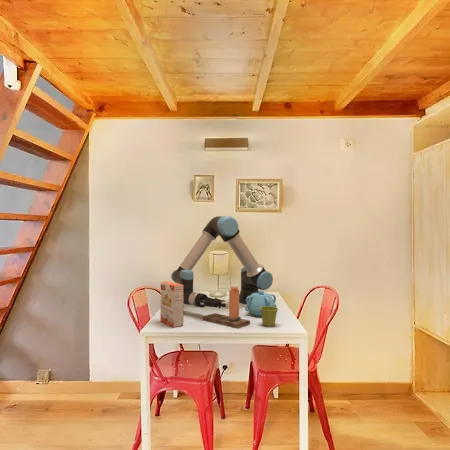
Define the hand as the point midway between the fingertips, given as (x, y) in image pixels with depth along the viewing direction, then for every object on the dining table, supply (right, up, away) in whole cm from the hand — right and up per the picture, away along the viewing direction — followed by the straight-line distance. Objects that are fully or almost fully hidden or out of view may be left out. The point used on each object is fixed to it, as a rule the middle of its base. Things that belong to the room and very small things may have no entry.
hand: (231, 306), depth 195 cm
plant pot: (+19, -9, -2) cm, 21 cm away
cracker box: (-31, -9, -2) cm, 32 cm away
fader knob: (+1, -7, -1) cm, 7 cm away
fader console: (-3, -9, +3) cm, 10 cm away
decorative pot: (+17, -9, +21) cm, 28 cm away
